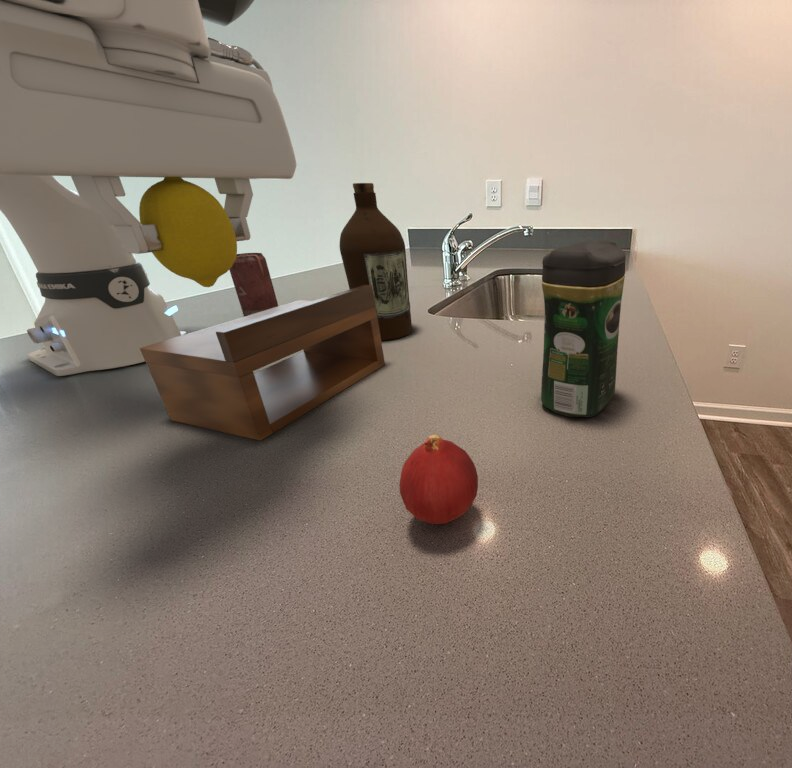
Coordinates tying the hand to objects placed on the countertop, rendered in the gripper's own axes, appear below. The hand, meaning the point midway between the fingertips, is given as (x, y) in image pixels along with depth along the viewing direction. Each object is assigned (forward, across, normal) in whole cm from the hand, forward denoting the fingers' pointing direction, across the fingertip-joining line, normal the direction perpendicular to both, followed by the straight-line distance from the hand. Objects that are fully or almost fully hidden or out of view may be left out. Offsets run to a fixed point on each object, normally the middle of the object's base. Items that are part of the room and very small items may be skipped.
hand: (194, 246), depth 31 cm
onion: (+20, +1, +20) cm, 29 cm away
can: (+21, -33, -38) cm, 55 cm away
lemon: (+3, 0, 0) cm, 3 cm away
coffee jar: (+20, -22, +26) cm, 39 cm away
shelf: (+20, -14, -11) cm, 27 cm away
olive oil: (+21, -38, -13) cm, 45 cm away
